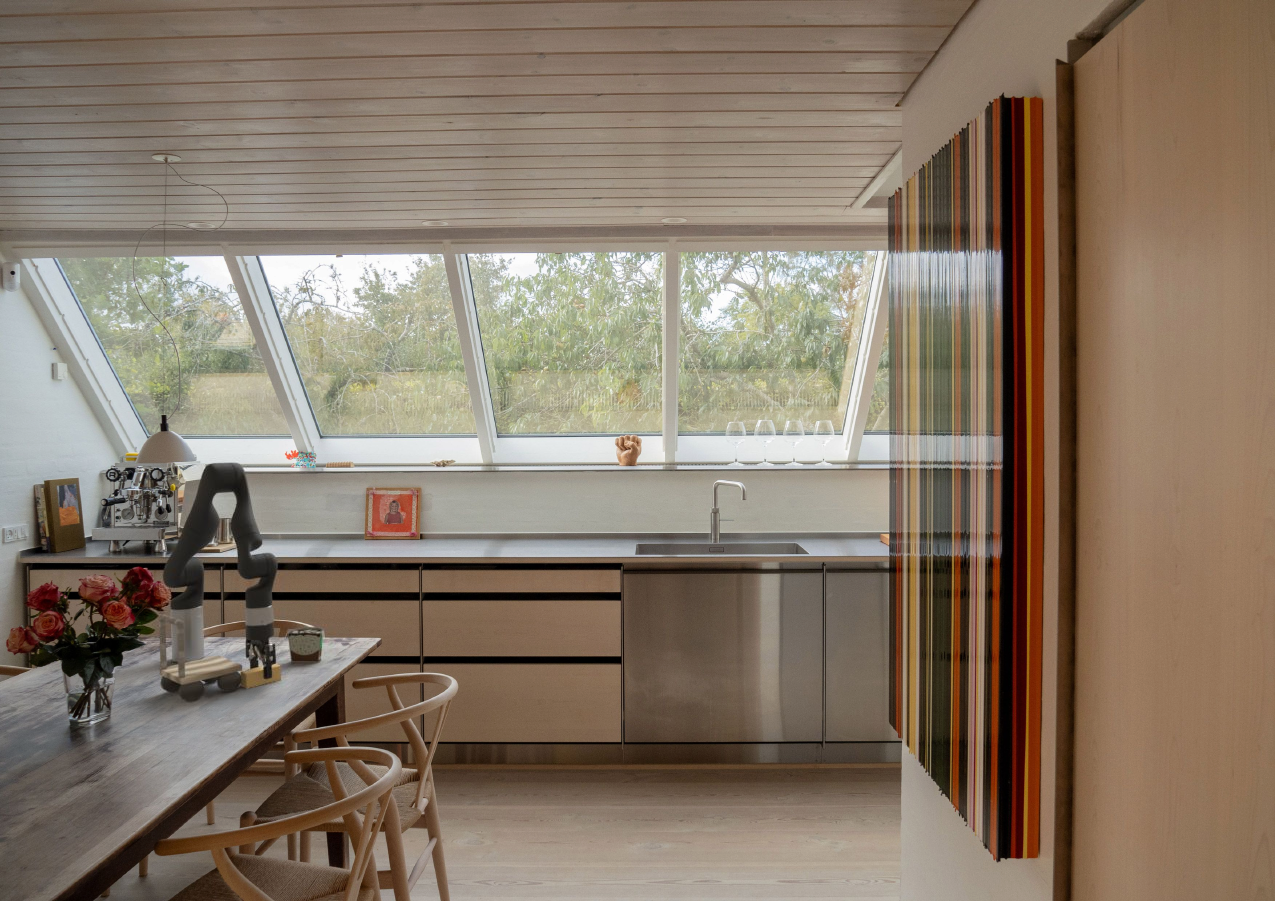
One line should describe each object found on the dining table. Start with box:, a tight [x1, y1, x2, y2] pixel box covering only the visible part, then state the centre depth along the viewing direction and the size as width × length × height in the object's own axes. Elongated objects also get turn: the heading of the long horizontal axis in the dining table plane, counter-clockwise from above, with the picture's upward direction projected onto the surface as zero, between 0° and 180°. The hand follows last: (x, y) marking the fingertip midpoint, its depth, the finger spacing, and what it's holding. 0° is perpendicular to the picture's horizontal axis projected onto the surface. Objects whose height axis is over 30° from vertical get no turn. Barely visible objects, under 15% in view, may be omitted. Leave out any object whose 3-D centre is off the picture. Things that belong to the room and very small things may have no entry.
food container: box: [285, 626, 326, 663], centre depth 252 cm, size 12×6×10 cm, turn 84°
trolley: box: [158, 613, 243, 703], centre depth 222 cm, size 16×16×23 cm
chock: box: [239, 663, 282, 689], centre depth 229 cm, size 4×10×4 cm, turn 140°
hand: (261, 675), depth 229 cm, fingers open, 8 cm apart
